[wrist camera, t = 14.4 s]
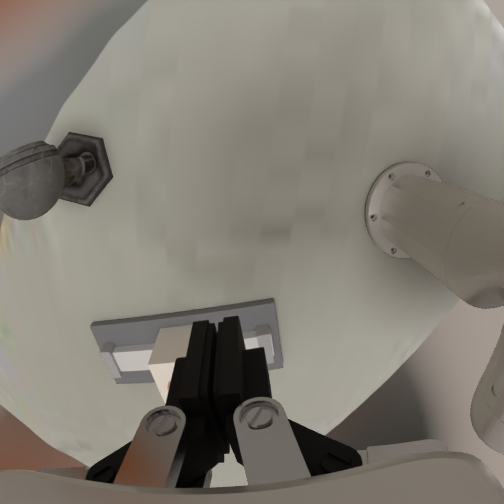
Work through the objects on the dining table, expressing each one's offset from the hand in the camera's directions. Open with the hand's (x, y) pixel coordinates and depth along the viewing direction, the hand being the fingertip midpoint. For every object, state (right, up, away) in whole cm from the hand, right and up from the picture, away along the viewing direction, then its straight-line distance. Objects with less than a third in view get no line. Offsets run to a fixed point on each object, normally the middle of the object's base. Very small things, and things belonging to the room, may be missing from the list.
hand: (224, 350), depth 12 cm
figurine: (-20, +14, +23) cm, 34 cm away
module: (-8, -10, +31) cm, 33 cm away
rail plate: (-8, -9, +32) cm, 34 cm away
